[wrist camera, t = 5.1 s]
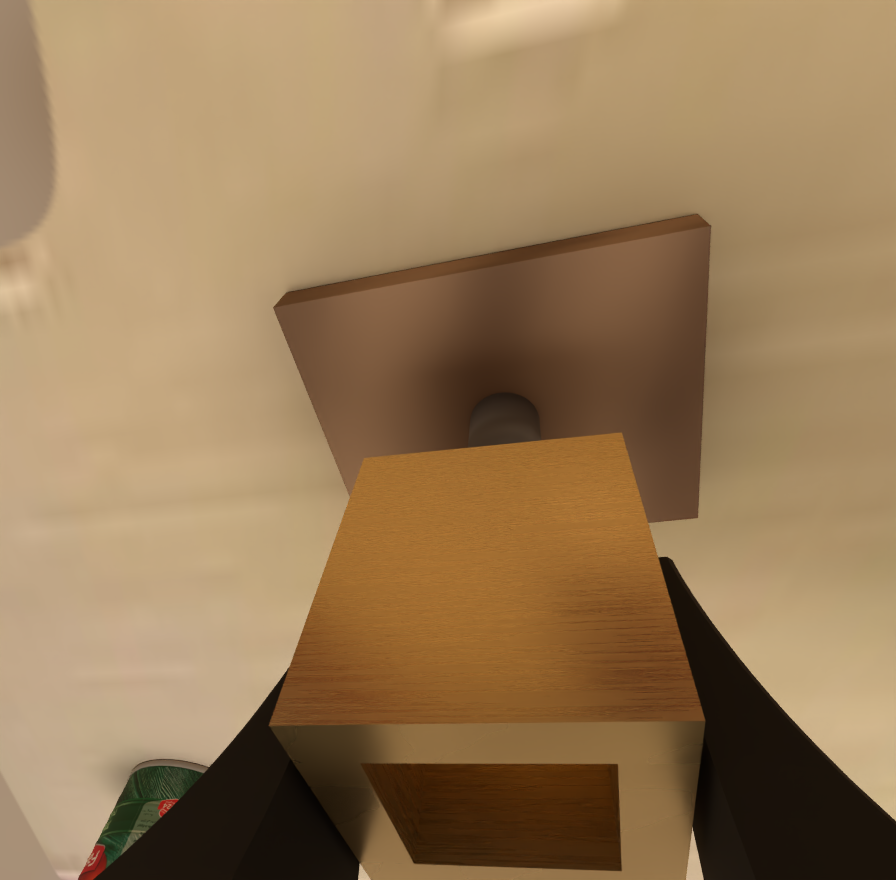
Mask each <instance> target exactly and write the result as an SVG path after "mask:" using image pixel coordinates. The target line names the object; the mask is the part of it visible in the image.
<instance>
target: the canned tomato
mask: <svg viewBox="0 0 896 880" xmlns="http://www.w3.org/2000/svg"><path fill="white" fill-rule="evenodd" d="M207 769H208V767H205V766H202V765H198V764H195V763H190V762H185V761H178V760H162V759H161V760H151V761H147V762H144V763H142V764H140V765H138V766H136V767H135V768H134V769H133V770H132V772H131V775H130V778H129V780H128V782H127V784H126V786H125V788H124V790H123V792H122V794H121V796H120V797H119V799H118V801H117V804H116V806H115V808H114V810H113V812H112V813H111V814H110V817H109V820H108V822H107V824H106V825H105V827H104V828H103V831H102V833H101V835H100V837H99V839H98V841H97V842H96V844H95V847H94V849H93V851H92V853H91V855H90V857H89V858H88V860H87V863H86V865H85V867H84V869H83V871H82V872H81V874H80V876H79V878H78V880H93V879H94V878H95V877H96V876H97V875H99V874H100V873H101V872H102V871H103V870H105V869H106V868H107V867H108V866H109V865H110V864H111V863H113V862H114V861H115V860H116V859H117V858H118V857H119V856H120V855H122V854H123V853H124V852H125V851H126V850H127V849H128V848H129V847H130V846H131V845H132V844H133V843H135V842H136V841H137V840H138V839H139V838H140V837H141V836H142V835H143V834H144V833H145V832H146V831H147V830H148V829H149V828H150V827H151V826H152V825H153V824H154V823H155V822H157V821H158V820H159V819H160V818H161V817H162V816H163V815H164V814H165V813H166V812H167V811H168V810H169V809H170V808H171V807H172V806H173V805H174V804H175V803H176V802H177V801H178V800H179V799H180V798H181V797H182V796H183V795H184V794H185V793H186V792H187V791H188V790H189V789H190V787H191V786H192V785H193V784H194V783H195V782H196V781H197V780H198V779H199V778H200V777H201V776H202V775H203V773H204V772H205V771H206V770H207Z"/></svg>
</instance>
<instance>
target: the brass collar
mask: <svg viewBox="0 0 896 880" xmlns="http://www.w3.org/2000/svg"><path fill="white" fill-rule="evenodd" d="M269 727H270V728H271V730H272V731H273V733H274V734H275V736H276V737H277V739H278V740H279V742H280V743H281V745H282V746H283V748H284V749H285V751H286V752H287V754H288V755H289V757H290V758H291V760H292V761H293V763H294V764H295V766H296V767H297V769H298V771H299V772H300V774H301V775H302V777H303V778H304V780H305V781H306V783H307V784H308V786H309V787H310V789H311V790H312V792H313V793H314V795H315V796H316V798H317V799H318V801H319V802H320V804H321V805H322V807H323V808H324V810H325V811H326V813H327V814H328V816H329V817H330V819H331V820H332V822H333V823H334V825H335V826H336V828H337V829H338V831H339V832H340V834H341V835H342V837H343V838H344V840H345V841H346V843H347V844H348V846H349V847H350V849H351V850H352V852H353V853H354V855H355V856H356V858H357V859H358V861H359V862H360V864H361V865H362V867H363V868H364V870H365V871H366V873H367V874H368V876H369V877H370V879H371V880H686V874H687V865H688V857H689V849H690V841H691V833H692V825H693V817H694V809H695V801H696V793H697V785H698V777H699V769H700V761H701V753H702V745H703V737H704V729H705V718H704V714H703V711H702V707H701V704H700V700H699V697H698V694H697V690H696V687H695V683H694V680H693V676H692V673H691V669H690V666H689V663H688V659H687V656H686V652H685V649H684V645H683V642H682V638H681V635H680V631H679V628H678V625H677V621H676V618H675V614H674V611H673V607H672V604H671V600H670V597H669V594H668V590H667V587H666V583H665V580H664V576H663V573H662V569H661V566H660V563H659V559H658V556H657V552H656V549H655V545H654V542H653V538H652V535H651V531H650V528H649V525H648V521H647V518H646V514H645V511H644V507H643V504H642V500H641V497H640V494H639V490H638V487H637V483H636V480H635V476H634V473H633V469H632V466H631V462H630V459H629V456H628V452H627V449H626V445H625V442H624V438H623V435H622V433H611V434H601V435H591V436H581V437H571V438H561V439H551V440H541V441H531V442H521V443H511V444H501V445H491V446H481V447H470V448H460V449H450V450H440V451H430V452H420V453H410V454H400V455H390V456H380V457H370V458H364V460H363V462H362V465H361V468H360V471H359V474H358V476H357V479H356V482H355V485H354V488H353V490H352V493H351V496H350V499H349V502H348V504H347V507H346V510H345V513H344V516H343V518H342V521H341V524H340V527H339V530H338V532H337V535H336V538H335V541H334V544H333V547H332V549H331V552H330V555H329V558H328V561H327V563H326V566H325V569H324V572H323V575H322V577H321V580H320V583H319V586H318V589H317V591H316V594H315V597H314V600H313V603H312V605H311V608H310V611H309V614H308V617H307V619H306V622H305V625H304V628H303V631H302V634H301V636H300V639H299V642H298V645H297V648H296V650H295V653H294V656H293V659H292V662H291V664H290V667H289V670H288V673H287V676H286V678H285V681H284V684H283V687H282V690H281V692H280V695H279V698H278V701H277V704H276V706H275V709H274V712H273V715H272V718H271V721H270V723H269Z"/></svg>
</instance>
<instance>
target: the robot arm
mask: <svg viewBox="0 0 896 880" xmlns="http://www.w3.org/2000/svg"><path fill="white" fill-rule="evenodd" d="M658 559H659V563H660V566H661V569H662V573H663V576H664V580H665V583H666V587H667V590H668V594H669V597H670V600H671V604H672V607H673V611H674V614H675V618H676V621H677V625H678V628H679V631H680V635H681V638H682V642H683V645H684V649H685V652H686V656H687V659H688V663H689V666H690V669H691V673H692V676H693V680H694V683H695V687H696V690H697V694H698V697H699V700H700V704H701V707H702V711H703V714H704V718H705V729H704V737H703V745H702V753H701V761H700V769H699V777H698V785H697V793H696V801H695V809H694V817H693V825H692V827H693V831H694V836H695V840H696V845H697V850H698V854H699V859H700V863H701V868H702V873H703V877H704V880H896V821H895V820H894V819H893V818H892V817H891V816H890V815H888V814H887V813H886V812H885V811H884V810H883V809H882V808H881V807H880V806H879V805H878V804H877V803H875V802H874V801H873V800H872V799H871V798H870V797H869V796H868V795H867V794H866V793H865V792H864V791H863V790H861V789H860V788H859V787H858V786H857V785H856V784H855V783H854V782H853V781H852V780H851V779H850V778H849V777H848V776H847V775H846V774H845V773H844V772H843V771H842V770H841V769H840V768H839V767H838V766H837V765H836V764H835V763H834V762H833V761H832V760H831V759H830V758H829V757H828V756H827V755H826V754H825V753H824V752H823V751H822V750H821V749H820V748H819V747H818V746H817V745H816V744H815V743H814V742H813V741H812V740H811V739H810V738H809V737H808V736H807V735H806V734H805V733H804V732H803V731H802V730H801V729H800V728H799V726H798V725H797V724H796V723H795V722H794V721H793V720H792V719H791V718H790V717H789V716H788V715H787V713H786V712H785V711H784V710H783V709H782V708H781V707H780V706H779V705H778V703H777V702H776V701H775V700H774V699H773V698H772V697H771V696H770V694H769V693H768V692H767V691H766V690H765V688H764V687H763V686H762V685H761V684H760V683H759V681H758V680H757V679H756V678H755V677H754V675H753V674H752V673H751V672H750V671H749V669H748V668H747V667H746V666H745V665H744V663H743V662H742V661H741V660H740V658H739V657H738V656H737V655H736V653H735V652H734V651H733V649H732V648H731V647H730V645H729V644H728V643H727V642H726V640H725V639H724V638H723V636H722V635H721V634H720V632H719V631H718V630H717V628H716V627H715V626H714V624H713V623H712V622H711V620H710V619H709V617H708V616H707V615H706V613H705V612H704V610H703V609H702V607H701V606H700V604H699V603H698V602H697V600H696V599H695V597H694V596H693V594H692V593H691V591H690V589H689V588H688V586H687V585H686V583H685V582H684V580H683V578H682V577H681V575H680V573H679V571H678V570H677V568H676V566H675V564H674V562H673V560H671V559H669V558H668V557H658ZM288 670H289V668H288V669H287V671H286V672H285V674H284V675H283V676H282V678H281V679H280V681H279V682H278V683H277V685H276V686H275V687H274V689H273V690H272V691H271V693H270V694H269V695H268V697H267V698H266V699H265V701H264V702H263V703H262V705H261V706H260V707H259V709H258V710H257V711H256V713H255V714H254V715H253V716H252V718H251V719H250V720H249V721H248V723H247V724H246V725H245V726H244V728H243V729H242V730H241V731H240V732H239V734H238V735H237V736H236V737H235V738H234V740H233V741H232V742H231V743H230V744H229V745H228V747H227V748H226V749H225V750H224V751H223V752H222V754H221V755H220V756H219V757H218V758H217V759H216V760H215V762H214V763H213V764H212V765H211V766H210V767H209V768H208V769H207V770H206V771H205V772H204V773H203V775H202V776H201V777H200V778H199V779H198V780H197V781H196V782H195V783H194V784H193V785H192V786H191V787H190V789H189V790H188V791H187V792H186V793H185V794H184V795H183V796H182V797H181V798H180V799H179V800H178V801H177V802H176V803H175V804H174V805H173V806H172V807H171V808H170V809H169V810H168V811H167V812H166V813H165V814H164V815H163V816H162V817H161V818H160V819H159V820H158V821H157V822H155V823H154V824H153V825H152V826H151V827H150V828H149V829H148V830H147V831H146V832H145V833H144V834H143V835H142V836H141V837H140V838H139V839H138V840H137V841H136V842H135V843H133V844H132V845H131V846H130V847H129V848H128V849H127V850H126V851H125V852H124V853H123V854H122V855H120V856H119V857H118V858H117V859H116V860H115V861H114V862H113V863H111V864H110V865H109V866H108V867H107V868H106V869H105V870H103V871H102V872H101V873H100V874H99V875H97V876H96V877H95V878H94V879H93V880H358V874H359V864H360V862H359V861H358V859H357V858H356V856H355V855H354V853H353V852H352V850H351V849H350V847H349V846H348V844H347V843H346V841H345V840H344V838H343V837H342V835H341V834H340V832H339V831H338V829H337V828H336V826H335V825H334V823H333V822H332V820H331V819H330V817H329V816H328V814H327V813H326V811H325V810H324V808H323V807H322V805H321V804H320V802H319V801H318V799H317V798H316V796H315V795H314V793H313V792H312V790H311V789H310V787H309V786H308V784H307V783H306V781H305V780H304V778H303V777H302V775H301V774H300V772H299V771H298V769H297V767H296V766H295V764H294V763H293V761H292V760H291V758H290V757H289V755H288V754H287V752H286V751H285V749H284V748H283V746H282V745H281V743H280V742H279V740H278V739H277V737H276V736H275V734H274V733H273V731H272V730H271V728H270V727H269V723H270V721H271V718H272V715H273V712H274V709H275V706H276V704H277V701H278V698H279V695H280V692H281V690H282V687H283V684H284V681H285V678H286V676H287V673H288Z"/></svg>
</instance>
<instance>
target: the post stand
mask: <svg viewBox="0 0 896 880" xmlns="http://www.w3.org/2000/svg"><path fill="white" fill-rule="evenodd" d="M710 234H711V226H710V225H709V224H708V223H707V222H706V221H705V220H704V219H702V218H701V217H700V216H699V215H698V214H696V215H691V216H685V217H680V218H675V219H670V220H665V221H659V222H654V223H649V224H644V225H638V226H633V227H628V228H623V229H617V230H612V231H607V232H602V233H597V234H591V235H586V236H581V237H576V238H570V239H565V240H560V241H555V242H549V243H544V244H539V245H534V246H529V247H523V248H518V249H513V250H508V251H502V252H497V253H492V254H487V255H481V256H476V257H471V258H466V259H461V260H455V261H450V262H445V263H440V264H434V265H429V266H424V267H419V268H413V269H408V270H403V271H398V272H393V273H387V274H382V275H377V276H372V277H366V278H361V279H356V280H351V281H345V282H340V283H335V284H330V285H325V286H319V287H314V288H309V289H304V290H298V291H293V292H288V293H286V294H285V295H284V296H283V297H282V298H281V299H280V300H279V302H278V303H277V304H276V305H275V306H274V307H273V308H274V311H275V313H276V316H277V318H278V321H279V323H280V326H281V328H282V331H283V333H284V336H285V338H286V341H287V343H288V345H289V348H290V350H291V353H292V355H293V358H294V360H295V363H296V365H297V368H298V370H299V373H300V375H301V377H302V380H303V382H304V385H305V387H306V390H307V392H308V395H309V397H310V400H311V402H312V405H313V407H314V409H315V412H316V414H317V417H318V419H319V422H320V424H321V427H322V429H323V432H324V434H325V437H326V439H327V442H328V444H329V446H330V449H331V451H332V454H333V456H334V459H335V461H336V464H337V466H338V469H339V471H340V474H341V476H342V478H343V481H344V483H345V486H346V488H347V491H348V493H349V496H351V493H352V490H353V488H354V485H355V482H356V479H357V476H358V474H359V471H360V468H361V465H362V462H363V460H364V458H370V457H380V456H390V455H400V454H410V453H420V452H430V451H440V450H450V449H460V448H470V447H481V446H491V445H501V444H511V443H521V442H531V441H541V440H551V439H561V438H571V437H581V436H591V435H601V434H611V433H622V435H623V438H624V442H625V445H626V449H627V452H628V456H629V459H630V462H631V466H632V469H633V473H634V476H635V480H636V483H637V487H638V490H639V494H640V497H641V500H642V504H643V507H644V511H645V514H646V518H647V521H648V523H651V522H661V521H672V520H682V519H693V518H698V505H699V482H700V460H701V437H702V415H703V392H704V369H705V347H706V324H707V302H708V279H709V257H710Z"/></svg>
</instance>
